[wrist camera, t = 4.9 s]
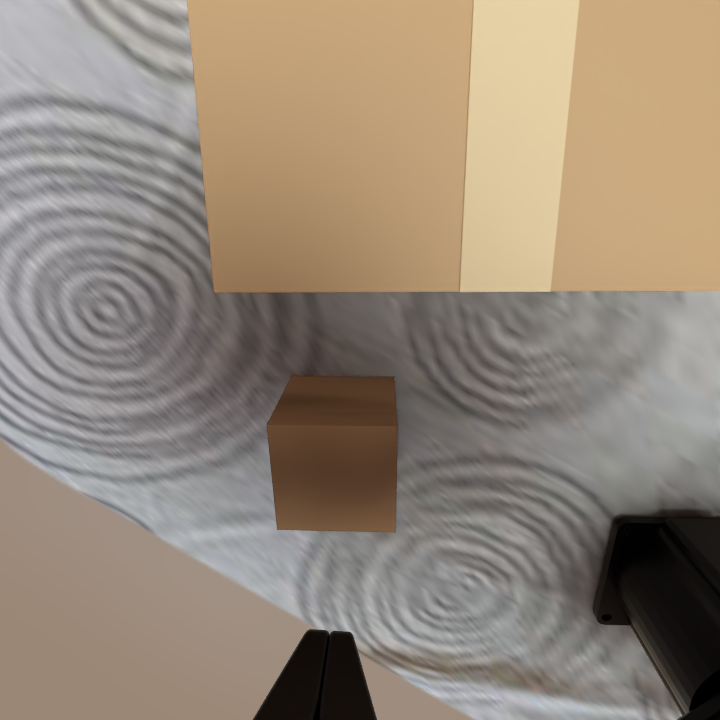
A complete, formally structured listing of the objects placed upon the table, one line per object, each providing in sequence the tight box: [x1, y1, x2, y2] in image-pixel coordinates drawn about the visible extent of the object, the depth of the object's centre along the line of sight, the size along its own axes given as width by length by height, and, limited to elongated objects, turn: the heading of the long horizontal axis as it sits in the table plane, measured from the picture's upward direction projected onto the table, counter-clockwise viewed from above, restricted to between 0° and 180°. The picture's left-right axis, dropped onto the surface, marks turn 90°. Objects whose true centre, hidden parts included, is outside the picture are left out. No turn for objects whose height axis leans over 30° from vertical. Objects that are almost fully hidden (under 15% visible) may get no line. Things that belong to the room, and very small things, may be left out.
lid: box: [187, 0, 720, 293], centre depth 11 cm, size 10×16×1 cm, turn 91°
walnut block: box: [267, 376, 398, 532], centre depth 18 cm, size 4×4×4 cm
